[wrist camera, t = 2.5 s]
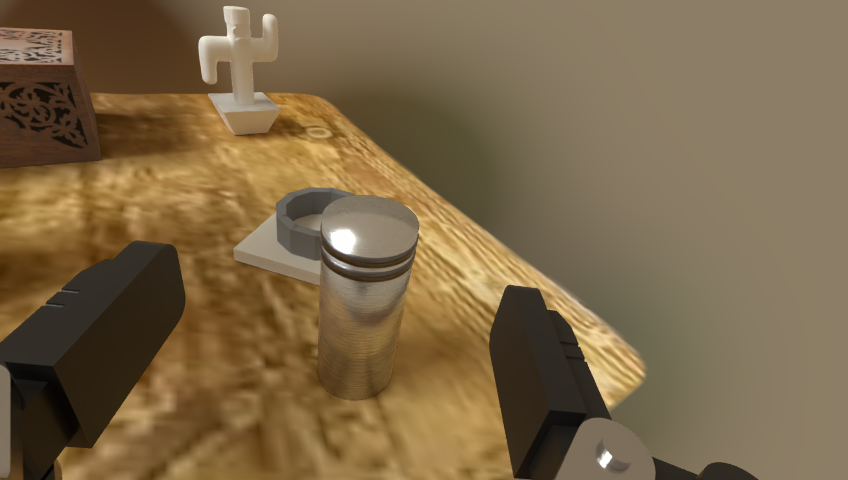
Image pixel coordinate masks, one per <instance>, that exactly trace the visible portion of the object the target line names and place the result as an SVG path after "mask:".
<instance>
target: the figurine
mask: <svg viewBox="0 0 848 480" xmlns="http://www.w3.org/2000/svg"><path fill="white" fill-rule="evenodd" d="M223 9H224V18H225V22H226V23H227V37H219V36H204V37H202V38H201V39H200V41H199V56H200V64H201V72H202V78H203V80H204V81H205V82H206V83H208V84H214V83H216V81H217V72H216V64H217V62H218V61H230V64H231V75H232V86H233V93H222V94H208V95H209V97H210V99H211V101H212V102H213V104H214V106H215V107H216V109H217V111H218V112H219V114H220V116H221V117H222V119H223V121H224V122H225V124H226V125H227V126H228V128H229V129H230V130H231V131H232V132H233V134H234V135H244V134H256V133H268V131H269V129H270V128H271V126H272V124H273V122H274V121H275V119H276V117H277V116H278V114H279V112H280V110H281V109H280V108H279V107H278V106H277V105H275V104H274V103H273V102H272V101H271V100H270V99H269V98H268V97H267V96H265V95H264V94H263V93H262V92H257V93H254V88H253V72H252V63H253V62H256V61H257V62H271V61H274V60H275V59H276V58H277V55H278V28H277V27H278V26H277V19H276V17H275V16H273V15H271V14H265V15H264V16H263V36H262V38H251V37H250V35H251V30H250V16H249V10H248V9H246V8H242V7H234V6H225V7H223Z"/></svg>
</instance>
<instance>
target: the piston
mask: <svg viewBox="0 0 848 480" xmlns="http://www.w3.org/2000/svg"><path fill="white" fill-rule="evenodd" d="M418 230H419V221H418V219H417V217H416V215H415V214H414V213H413V212H412V211H411V210H410V209H409V208H407V207H406V206H404V205H402V204H401V203H398V202H396V201H394V200H391V199H387V198H383V197H378V196H371V195H356V196H349V197H344V198H341V199H338V200H336V201H334V202H332V203H331V204H329V205H328V206H327V207H326V208H325V209H324V211H323V214H322V222H321V226H320V256H321V265H320V299H319V333H318V368H317V370H318V377H319V380H320V382H321V384H322V385H323V387H324V388H325V389H326V390H327V391H328V392H329V393H331V394H332V395H334V396H336V397H339V398H341V399H345V400H363V399H367V398H370V397H373V396H375V395H377V394H378V393H380V392H381V391H382V390H383V389H384V388H385V387H386V386H387V384H388V383H389V381H390V378H391V375H392V369H393V364H394V359H395V353H396V348H397V343H398V337H399V332H400V327H401V321H402V316H403V311H404V305H405V300H406V295H407V289H408V284H409V279H410V273H411V268H412V265H413V262H414V258H415V253H416V247H417V242H418V235H419V234H418Z"/></svg>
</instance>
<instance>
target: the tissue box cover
mask: <svg viewBox="0 0 848 480" xmlns="http://www.w3.org/2000/svg"><path fill="white" fill-rule="evenodd" d="M99 160H102V157H101V150H100V143H99V136H98V130H97V123H96V116H95V111H94V108H93V104H92V101H91V97H90V94H89V90H88V87H87V83H86V80H85V77H84V73H83V70H82V66H81V62H80V59H79V56H78V52H77V48H76V45H75V41H74V38H73V34H72V31H63V30H62V31H61V30H43V29H23V28H3V27H0V169H2V168H14V167H26V166H38V165H51V164H63V163H75V162H87V161H99Z"/></svg>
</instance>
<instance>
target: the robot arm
mask: <svg viewBox="0 0 848 480" xmlns="http://www.w3.org/2000/svg"><path fill="white" fill-rule="evenodd" d="M184 307H185V291H184V286H183V280H182V275H181V270H180V265H179V259H178V254H177V251H176V248H175V247H174V246H173V245H170V244H162V243H154V242H146V241H133V242H132V243H130V244H129V245H128V246H127V247H126V248H125V249H124V250H123V251H122V252H121V253H119V254H118V255H117V256H116V257H115V258H114V259H113V260H110V259H105V260H103V261H101V262H99V263H97V264H95V265H93V266H91V267H89V268H87V269H85V270H83V271H81V272H80V273H79V274H78V275H77V276H75V277H74V278H73V279H72V280H71V281H70V282H69V283H67V284H66V285H65V286H64V287H63V288H62V291H61V292H57V293H56V294H55V295H54V296H53V297H52V298H50V299H49V300H48V301H47V302H46V306H41V307H40V308H39V309H38V310H37V311H36V312H35V313H33V314H32V315H31V316H30V317H29V318H28V319H27V320H26V321H24V322H23V323H22V324H21V325H20V326H19V327H18V328H16V329H15V330H14V331H13V332H12V333H11V334H10V335H9V336H7V337H6V338H5V339H4V340H3V341H2V342H1V343H0V480H62V470H61V465H60V463H59V461H58V459H57V457H58V456H59V454H60V453H61V452H62V450H63V449H64V448H65V447H79V448H92V447H93V445H94V444H95V443H96V441H97V440H98V438H99V437H100V435H101V434H102V432H103V431H104V429H105V428H106V427H107V425H108V424H109V422H110V421H111V419H112V418H113V416H114V415H115V413H116V412H117V411H118V409H119V408H120V406H121V405H122V403H123V402H124V400H125V399H126V398H127V396H128V395H129V393H130V392H131V390H132V389H133V387H134V386H135V384H136V383H137V382H138V380H139V379H140V377H141V376H142V374H143V373H144V371H145V370H146V368H147V367H148V366H149V364H150V363H151V361H152V360H153V358H154V357H155V355H156V354H157V352H158V351H159V350H160V348H161V347H162V345H163V344H164V342H165V341H166V339H167V338H168V336H169V335H170V334H171V332H172V331H173V329H174V328H175V326H176V325H177V323H178V322H179V320H180V318H181V316H182V314H183V311H184ZM489 348H490V356H491V361H492V366H493V371H494V376H495V382H496V387H497V392H498V397H499V403H500V408H501V413H502V418H503V423H504V429H505V434H506V439H507V444H508V449H509V455H510V460H511V465H512V470H513V475H514V478H519V479H531V480H758V479H757V478H755V477H754V476H753V475H751V474H750V473H748V472H746V471H745V470H743V469H741V468H738V467H737V466H734V465H731V464H727V463H722V462H716V463H711V464H709V465H708V466H707V467H706V468H704V470H703V471H702V472H701V473H700V474H699V475H697V474H694V473H692V472H689V471H686V470H684V469H681V468H679V467H676V466H674V465H671V464H669V463H666V462H664V461H661V460H658V459H656V458H654V457H652V456H651V454H650V453H649V451H648V449H647V448H646V446H645V445H644V444H643V443H642V441H641V440H640V439H639V438H638V437H637V436H636V435H635V434H634V433H633V432H631V431H630V430H629V429H627V428H626V427H624V426H623V425H621V424H619V423H617V422H614V421H612V419H611V417H610V415H609V412H608V410H607V408H606V406H605V403H604V401H603V399H602V396H601V394H600V392H599V390H598V387H597V385H596V383H595V380H594V378H593V376H592V374H591V371H590V369H589V367H588V364H587V362H585V361H584V359H585V357H584V355H583V353H582V351H581V348H580V347H578V341H577V339H576V337H575V335H574V332H573V330H572V328H571V326H570V325H569V324H568V323H567V322H566V321H565V319H564V318H563V317H562V316H561V315H560V314H559V313H558V312H557V311H554V310H547V308H546V305H545V302H544V300H543V297H542V295H541V292H540V290H539V289H537V288H530V287H522V286H514V285H508V286H507V287H506V288H505V291H504V293H503V296H502V299H501V302H500V305H499V308H498V311H497V314H496V316H495V319H494V322H493V325H492V328H491V333H490V341H489Z"/></svg>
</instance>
